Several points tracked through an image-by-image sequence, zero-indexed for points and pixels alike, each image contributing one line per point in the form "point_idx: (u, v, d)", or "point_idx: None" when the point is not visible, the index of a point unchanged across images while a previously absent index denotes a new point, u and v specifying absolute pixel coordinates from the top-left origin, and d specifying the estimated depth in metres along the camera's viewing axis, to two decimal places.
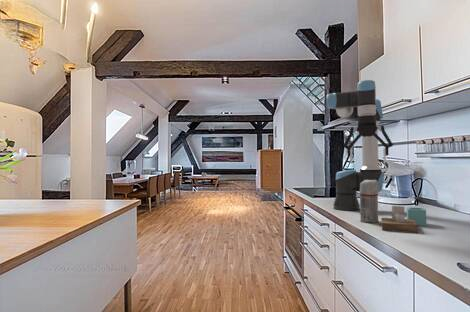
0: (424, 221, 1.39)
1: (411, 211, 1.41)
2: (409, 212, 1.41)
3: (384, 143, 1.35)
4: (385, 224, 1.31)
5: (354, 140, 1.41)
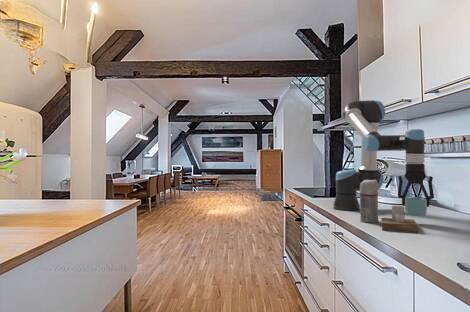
0: (423, 211, 1.39)
1: (410, 201, 1.41)
2: (408, 202, 1.42)
3: (426, 194, 1.41)
4: (385, 224, 1.31)
5: (406, 189, 1.44)
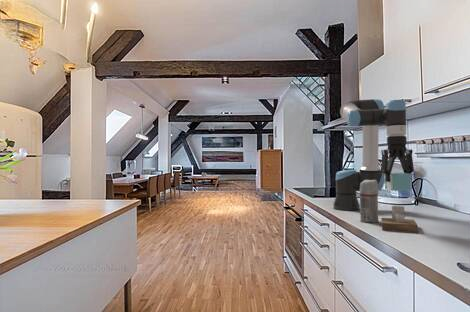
0: (409, 185, 1.32)
1: (398, 176, 1.31)
2: (397, 177, 1.31)
3: (408, 168, 1.35)
4: (385, 224, 1.31)
5: (391, 163, 1.33)
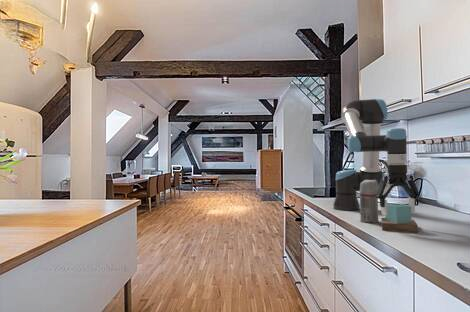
0: (409, 217, 1.32)
1: (399, 208, 1.31)
2: (397, 209, 1.31)
3: (413, 193, 1.35)
4: (385, 224, 1.31)
5: (388, 190, 1.33)
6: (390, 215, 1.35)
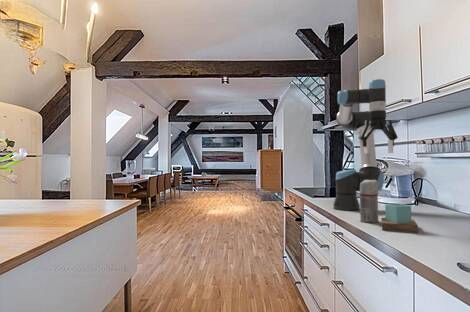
0: (409, 217, 1.32)
1: (399, 208, 1.31)
2: (397, 209, 1.31)
3: (391, 135, 1.57)
4: (385, 224, 1.31)
5: (370, 132, 1.55)
6: (390, 215, 1.35)
